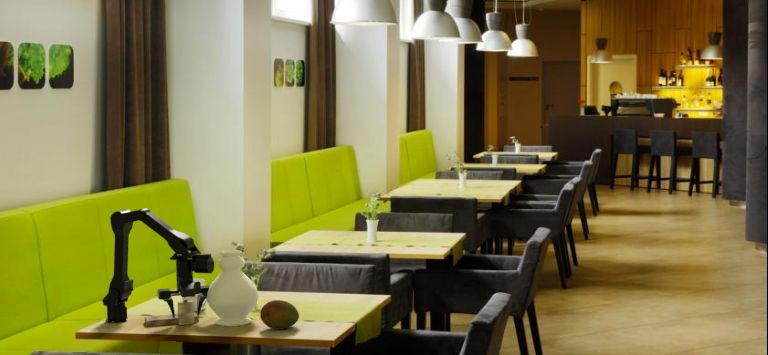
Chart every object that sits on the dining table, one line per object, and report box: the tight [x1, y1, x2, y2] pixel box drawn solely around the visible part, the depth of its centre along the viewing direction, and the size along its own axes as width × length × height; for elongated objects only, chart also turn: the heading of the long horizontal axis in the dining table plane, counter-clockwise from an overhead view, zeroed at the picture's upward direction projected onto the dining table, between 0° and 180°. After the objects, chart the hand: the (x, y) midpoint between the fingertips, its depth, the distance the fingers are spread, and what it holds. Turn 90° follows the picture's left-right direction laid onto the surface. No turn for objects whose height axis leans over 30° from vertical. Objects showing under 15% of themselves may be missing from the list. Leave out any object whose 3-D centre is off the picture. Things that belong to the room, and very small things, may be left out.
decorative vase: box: [207, 249, 259, 327], centre depth 390 cm, size 18×18×25 cm
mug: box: [181, 278, 208, 312], centre depth 413 cm, size 9×12×11 cm
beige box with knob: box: [177, 299, 195, 326], centre depth 392 cm, size 5×10×8 cm, turn 19°
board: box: [144, 311, 200, 328], centre depth 393 cm, size 18×7×2 cm, turn 109°
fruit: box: [259, 299, 300, 330], centre depth 379 cm, size 12×12×10 cm
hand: (186, 316), depth 389 cm, fingers open, 8 cm apart
